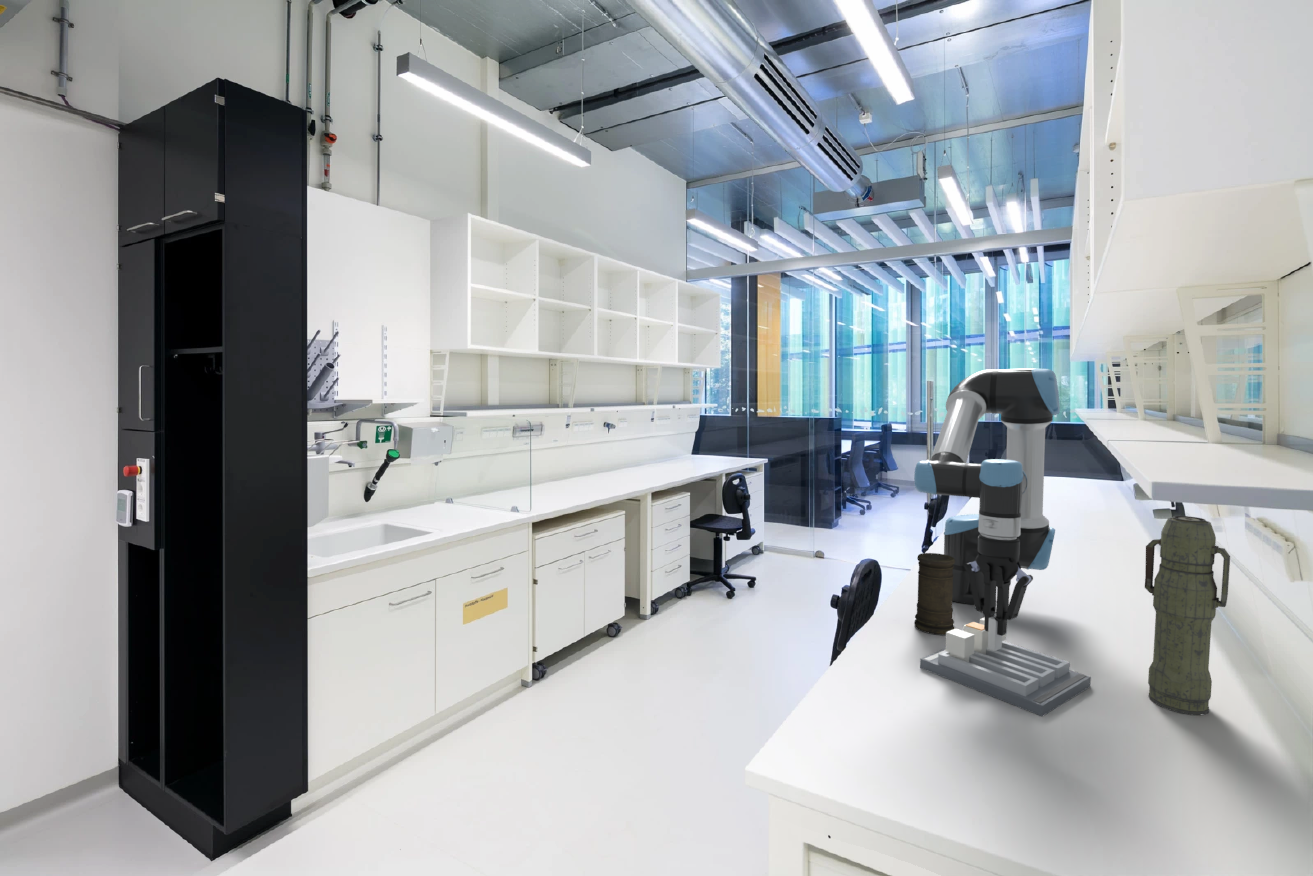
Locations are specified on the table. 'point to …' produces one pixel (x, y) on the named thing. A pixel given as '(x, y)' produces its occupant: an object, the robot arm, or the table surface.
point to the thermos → (1184, 613)
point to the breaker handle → (978, 636)
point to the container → (935, 593)
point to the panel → (1007, 672)
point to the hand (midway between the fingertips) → (994, 648)
